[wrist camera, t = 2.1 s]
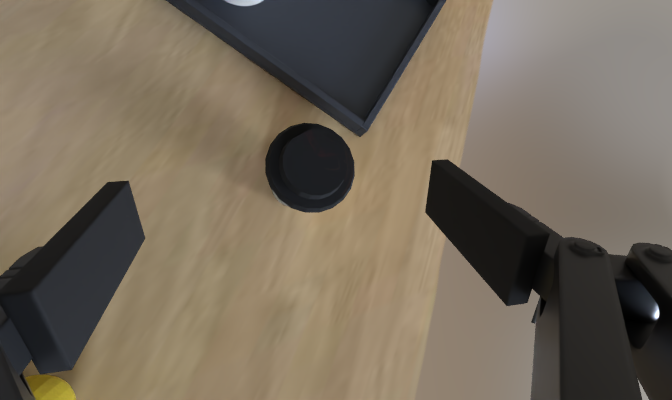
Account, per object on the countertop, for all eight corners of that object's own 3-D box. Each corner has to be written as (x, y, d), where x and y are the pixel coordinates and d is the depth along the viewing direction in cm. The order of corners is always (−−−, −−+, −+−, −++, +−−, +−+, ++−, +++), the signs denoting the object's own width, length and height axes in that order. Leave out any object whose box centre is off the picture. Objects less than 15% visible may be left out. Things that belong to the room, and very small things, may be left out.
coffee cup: (309, 231, 34) (337, 228, 25) (245, 199, 33) (248, 182, 23) (338, 171, 36) (375, 145, 26) (278, 137, 35) (294, 98, 25)
